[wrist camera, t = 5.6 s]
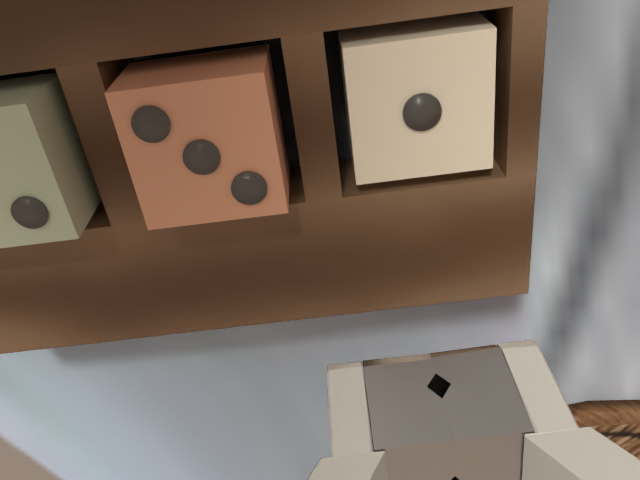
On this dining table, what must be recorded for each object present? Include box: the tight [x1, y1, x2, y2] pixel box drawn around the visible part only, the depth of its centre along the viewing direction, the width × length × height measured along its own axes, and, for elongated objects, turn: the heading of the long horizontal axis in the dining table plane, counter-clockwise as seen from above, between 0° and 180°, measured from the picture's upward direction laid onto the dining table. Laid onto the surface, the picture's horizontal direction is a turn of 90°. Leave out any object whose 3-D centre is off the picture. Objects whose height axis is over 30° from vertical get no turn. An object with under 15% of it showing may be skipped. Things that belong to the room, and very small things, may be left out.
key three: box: [104, 44, 290, 230], centre depth 19 cm, size 4×4×3 cm
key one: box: [338, 11, 497, 185], centre depth 20 cm, size 4×4×3 cm
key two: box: [0, 73, 102, 248], centre depth 20 cm, size 4×4×3 cm
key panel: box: [0, 0, 548, 354], centre depth 21 cm, size 16×21×3 cm
